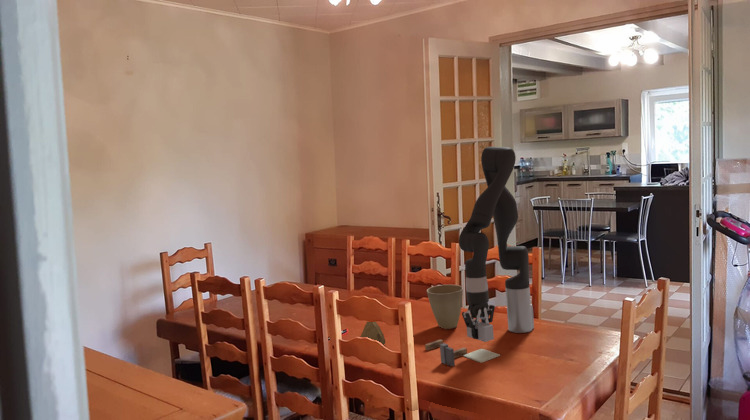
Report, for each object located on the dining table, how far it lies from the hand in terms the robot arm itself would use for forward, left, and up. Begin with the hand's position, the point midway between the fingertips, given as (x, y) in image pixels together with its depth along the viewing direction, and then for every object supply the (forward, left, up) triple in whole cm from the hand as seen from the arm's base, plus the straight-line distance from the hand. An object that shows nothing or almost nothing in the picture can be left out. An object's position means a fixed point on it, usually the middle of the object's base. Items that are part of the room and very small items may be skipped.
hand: (480, 336), depth 198 cm
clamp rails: (+6, -13, -7) cm, 16 cm away
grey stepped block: (+13, -2, -7) cm, 15 cm away
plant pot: (-14, -35, -7) cm, 38 cm away
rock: (+20, -40, -7) cm, 45 cm away
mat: (0, 0, -7) cm, 7 cm away
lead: (0, 0, 0) cm, 0 cm away
